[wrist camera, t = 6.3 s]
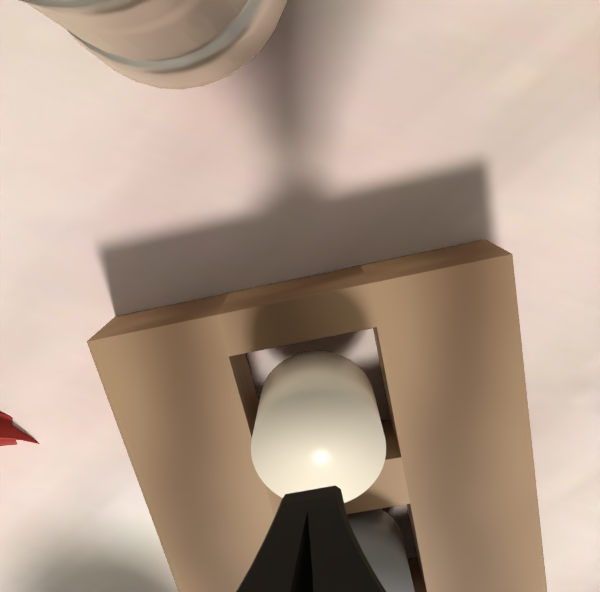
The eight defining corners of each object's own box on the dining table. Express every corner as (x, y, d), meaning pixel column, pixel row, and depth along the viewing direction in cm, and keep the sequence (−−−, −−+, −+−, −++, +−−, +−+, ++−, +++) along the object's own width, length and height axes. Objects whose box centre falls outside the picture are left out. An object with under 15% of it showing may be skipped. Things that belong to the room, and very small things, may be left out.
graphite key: (393, 494, 20) (406, 550, 17) (409, 574, 21) (424, 638, 18) (294, 511, 20) (291, 568, 17) (314, 589, 21) (315, 653, 18)
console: (485, 239, 18) (512, 254, 16) (537, 683, 24) (562, 743, 22) (115, 316, 19) (86, 341, 17) (254, 721, 25) (248, 781, 23)
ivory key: (363, 340, 17) (373, 377, 14) (383, 442, 18) (396, 495, 15) (248, 363, 17) (235, 404, 14) (274, 462, 18) (268, 516, 16)
